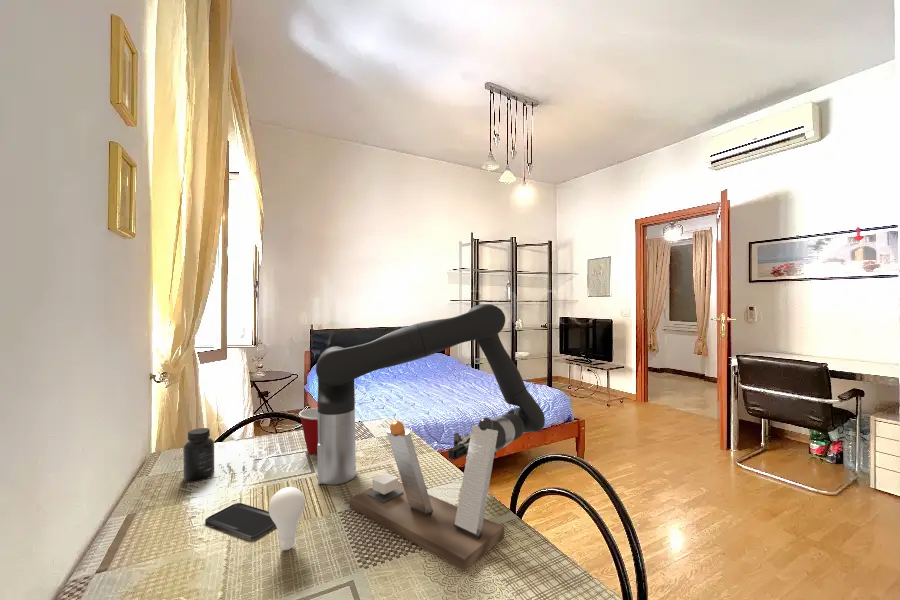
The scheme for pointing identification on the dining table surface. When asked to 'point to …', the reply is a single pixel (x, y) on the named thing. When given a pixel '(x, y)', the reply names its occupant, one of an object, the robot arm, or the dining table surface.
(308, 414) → the plastic cup
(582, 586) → the dining table surface
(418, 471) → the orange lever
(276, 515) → the lightbulb
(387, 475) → the white button
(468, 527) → the grey upright post
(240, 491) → the dining table surface
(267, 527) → the phone
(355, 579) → the dining table surface
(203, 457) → the supplement bottle
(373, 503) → the walnut panel
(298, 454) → the dining table surface
